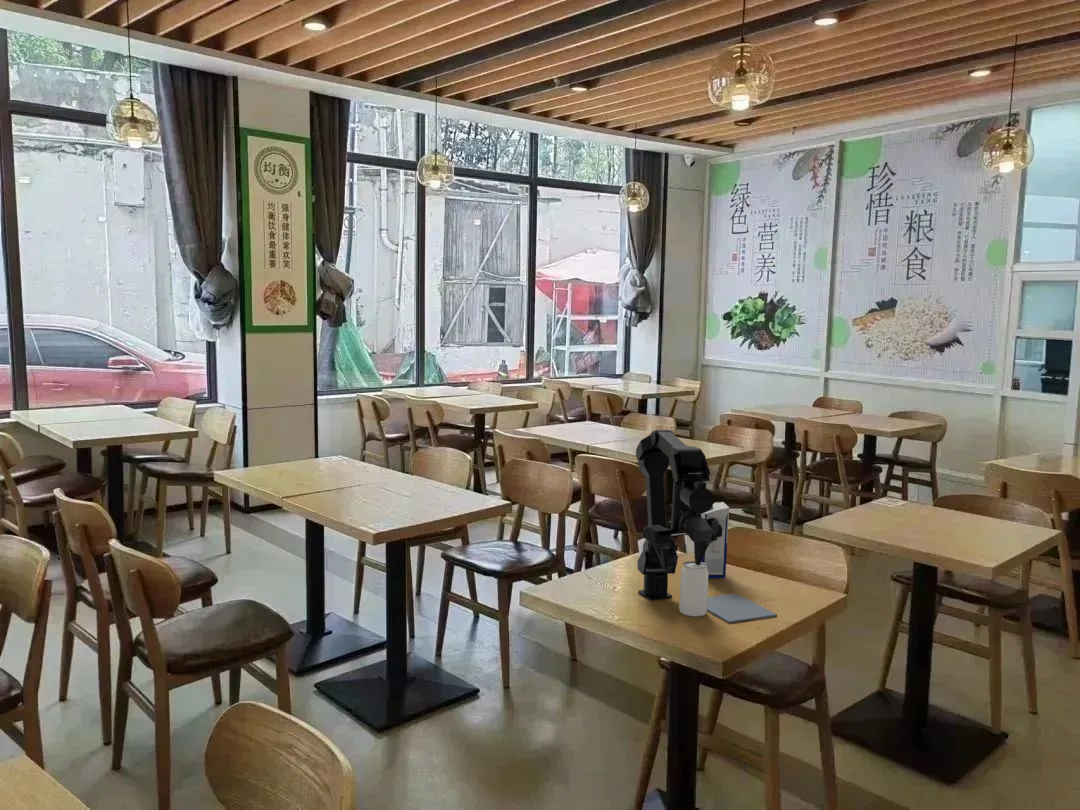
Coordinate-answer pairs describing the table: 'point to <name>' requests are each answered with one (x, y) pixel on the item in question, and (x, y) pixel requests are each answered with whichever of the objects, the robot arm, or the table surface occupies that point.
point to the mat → (736, 608)
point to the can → (693, 589)
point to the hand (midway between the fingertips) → (681, 567)
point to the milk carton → (717, 542)
